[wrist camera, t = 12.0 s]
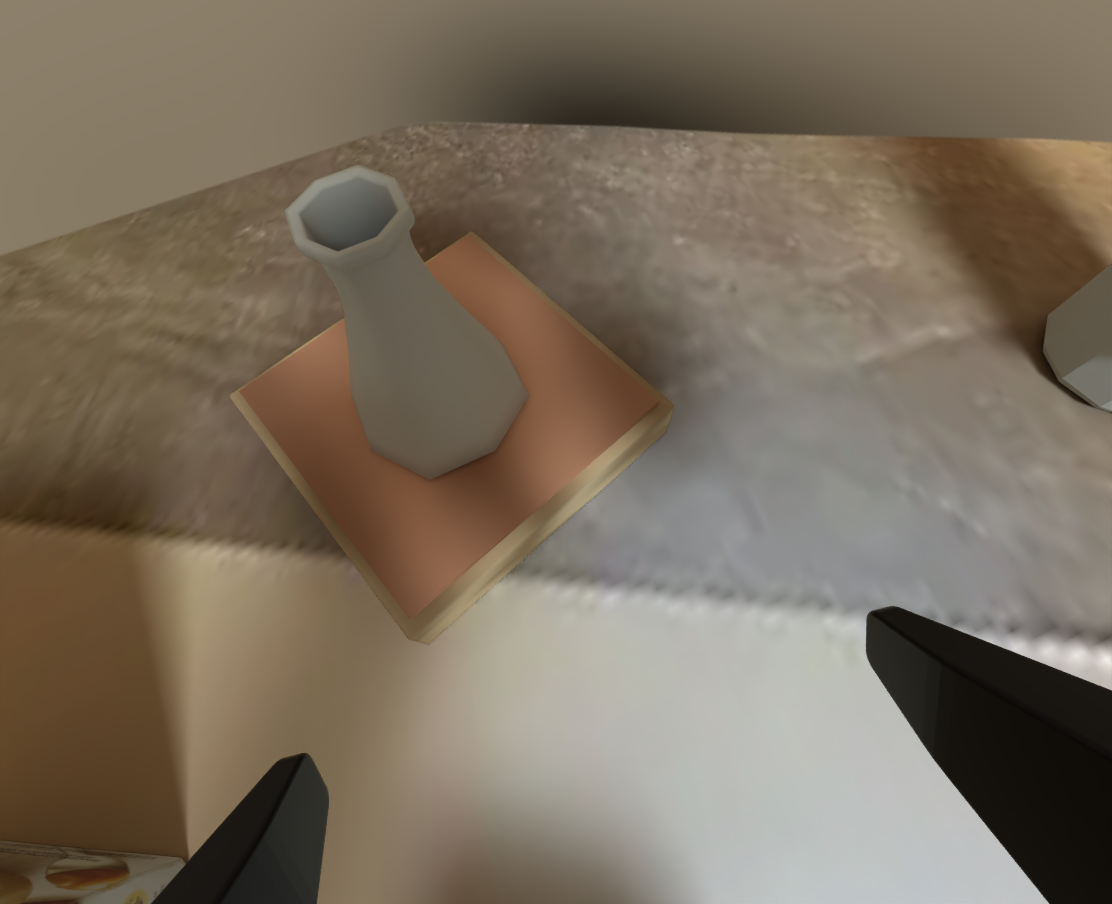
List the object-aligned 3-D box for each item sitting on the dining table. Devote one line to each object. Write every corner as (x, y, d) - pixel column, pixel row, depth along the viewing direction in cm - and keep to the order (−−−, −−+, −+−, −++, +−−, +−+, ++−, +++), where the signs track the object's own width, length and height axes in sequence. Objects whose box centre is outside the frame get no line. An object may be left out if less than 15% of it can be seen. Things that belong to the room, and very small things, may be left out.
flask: (426, 513, 21) (304, 378, 12) (325, 399, 23) (157, 213, 14) (560, 398, 23) (543, 203, 14) (453, 303, 25) (377, 82, 16)
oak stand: (427, 644, 22) (405, 638, 19) (261, 421, 27) (223, 391, 24) (666, 432, 25) (676, 400, 22) (480, 267, 30) (470, 224, 27)
